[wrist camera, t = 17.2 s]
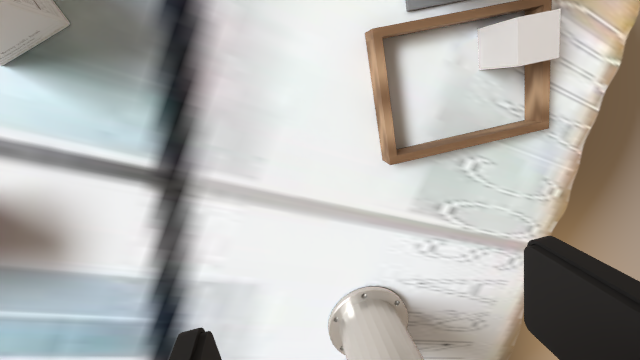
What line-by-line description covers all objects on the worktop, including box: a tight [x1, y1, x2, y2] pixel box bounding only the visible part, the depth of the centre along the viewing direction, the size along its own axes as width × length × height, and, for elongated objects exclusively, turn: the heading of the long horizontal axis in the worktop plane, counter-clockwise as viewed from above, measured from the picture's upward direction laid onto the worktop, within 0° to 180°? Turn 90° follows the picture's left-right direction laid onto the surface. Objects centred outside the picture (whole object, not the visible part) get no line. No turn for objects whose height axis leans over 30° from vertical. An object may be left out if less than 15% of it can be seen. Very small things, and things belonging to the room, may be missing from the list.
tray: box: [365, 0, 552, 165], centre depth 40 cm, size 16×22×3 cm
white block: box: [477, 9, 561, 70], centre depth 38 cm, size 5×5×7 cm
